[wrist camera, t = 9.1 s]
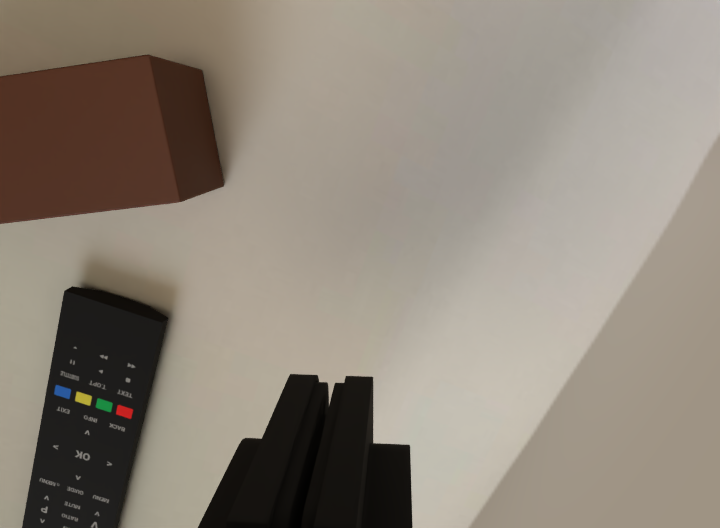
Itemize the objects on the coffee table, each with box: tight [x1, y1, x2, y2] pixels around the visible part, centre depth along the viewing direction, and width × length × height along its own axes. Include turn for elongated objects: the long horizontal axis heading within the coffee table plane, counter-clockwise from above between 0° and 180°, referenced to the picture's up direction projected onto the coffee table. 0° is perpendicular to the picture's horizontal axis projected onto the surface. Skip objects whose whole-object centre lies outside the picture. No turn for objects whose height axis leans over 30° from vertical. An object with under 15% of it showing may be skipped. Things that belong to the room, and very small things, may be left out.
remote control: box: [22, 287, 168, 528], centre depth 30 cm, size 5×24×1 cm, turn 162°
